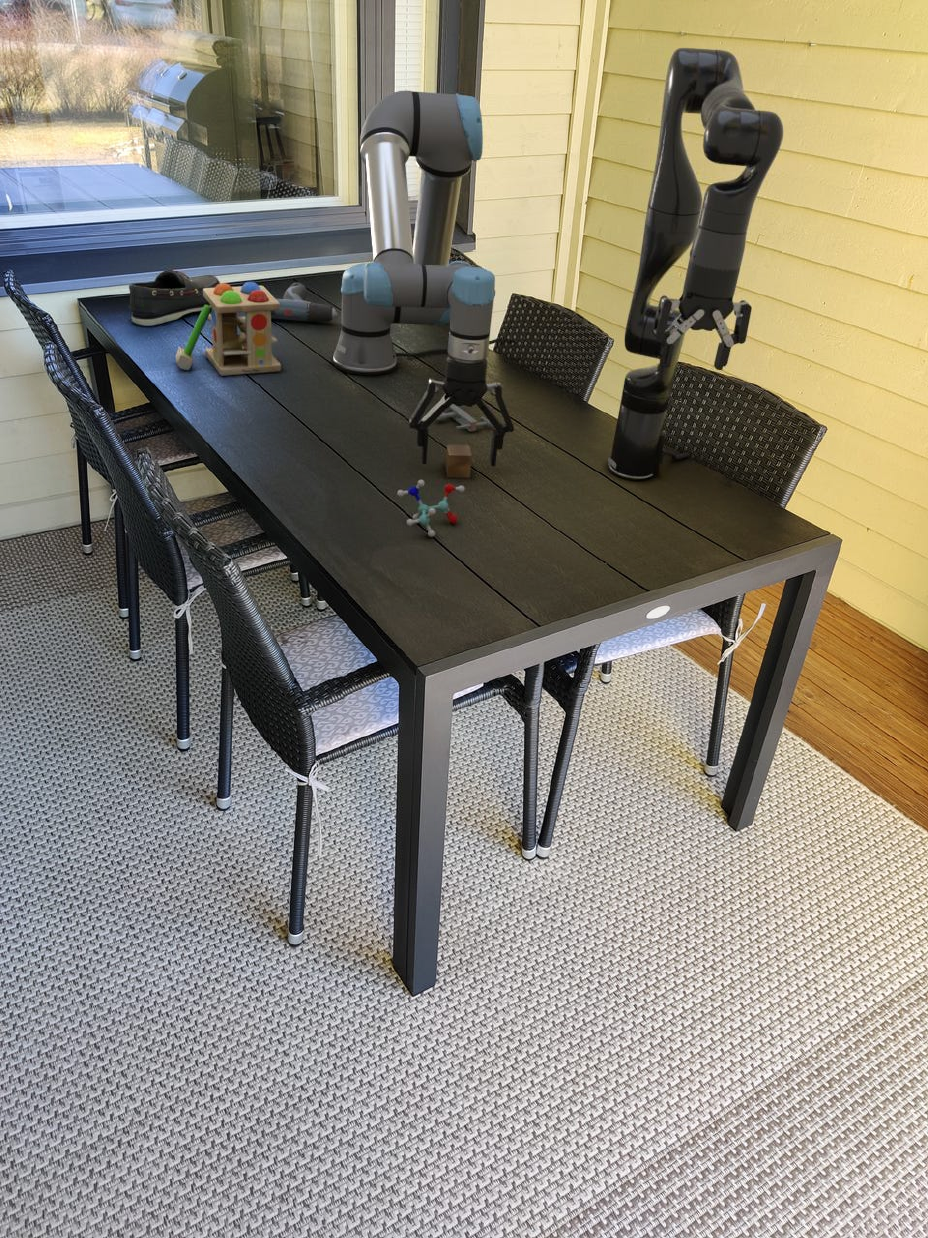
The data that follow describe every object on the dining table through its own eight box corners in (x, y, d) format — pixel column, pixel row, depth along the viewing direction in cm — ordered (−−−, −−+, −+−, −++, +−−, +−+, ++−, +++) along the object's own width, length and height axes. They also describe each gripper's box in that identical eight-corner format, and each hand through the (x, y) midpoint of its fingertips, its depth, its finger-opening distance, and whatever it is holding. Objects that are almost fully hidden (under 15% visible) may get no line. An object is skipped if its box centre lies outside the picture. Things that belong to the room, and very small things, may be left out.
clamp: (428, 404, 215) (467, 399, 219) (427, 414, 216) (466, 408, 220) (462, 431, 204) (502, 425, 209) (461, 441, 205) (501, 434, 210)
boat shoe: (241, 304, 270) (238, 265, 264) (149, 328, 246) (144, 285, 240) (207, 295, 275) (204, 257, 270) (113, 318, 251) (108, 276, 246)
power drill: (344, 304, 276) (335, 327, 259) (277, 298, 275) (264, 321, 258) (344, 285, 273) (335, 306, 256) (277, 279, 272) (264, 300, 255)
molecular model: (455, 530, 166) (436, 473, 165) (406, 545, 170) (387, 490, 168) (476, 520, 177) (458, 467, 175) (430, 535, 180) (412, 483, 179)
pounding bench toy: (183, 379, 220) (176, 299, 210) (169, 357, 231) (162, 280, 221) (282, 371, 230) (280, 294, 220) (264, 350, 240) (262, 276, 230)
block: (447, 477, 191) (449, 454, 189) (445, 466, 195) (446, 444, 193) (469, 477, 192) (471, 455, 189) (467, 466, 196) (469, 444, 193)
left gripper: (400, 360, 176) (395, 468, 188) (537, 366, 179) (523, 472, 191) (399, 346, 182) (394, 451, 194) (530, 352, 185) (518, 456, 197)
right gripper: (675, 264, 140) (654, 373, 149) (770, 270, 142) (743, 377, 151) (662, 250, 146) (641, 356, 156) (752, 256, 148) (727, 360, 157)
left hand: (458, 462), depth 192 cm, fingers open, 13 cm apart
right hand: (691, 366), depth 153 cm, fingers open, 8 cm apart
